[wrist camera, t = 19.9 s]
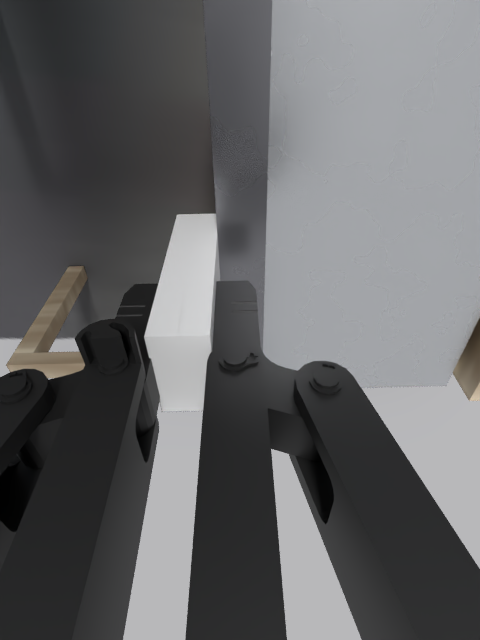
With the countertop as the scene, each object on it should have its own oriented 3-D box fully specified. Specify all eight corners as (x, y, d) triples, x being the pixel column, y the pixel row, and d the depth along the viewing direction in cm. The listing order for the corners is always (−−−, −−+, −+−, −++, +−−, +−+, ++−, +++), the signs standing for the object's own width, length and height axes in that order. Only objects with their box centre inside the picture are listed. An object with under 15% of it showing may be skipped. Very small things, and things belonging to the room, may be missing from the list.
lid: (203, -154, 10) (189, -226, 7) (684, -165, 10) (888, -243, 7) (230, 377, 23) (229, 435, 20) (439, 373, 23) (470, 430, 20)
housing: (-51, -72, 19) (-404, -171, 8) (514, -86, 19) (866, -201, 8) (73, 278, 32) (-6, 411, 21) (406, 271, 32) (490, 400, 21)
